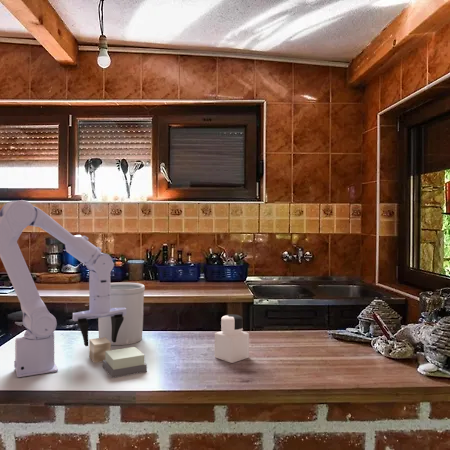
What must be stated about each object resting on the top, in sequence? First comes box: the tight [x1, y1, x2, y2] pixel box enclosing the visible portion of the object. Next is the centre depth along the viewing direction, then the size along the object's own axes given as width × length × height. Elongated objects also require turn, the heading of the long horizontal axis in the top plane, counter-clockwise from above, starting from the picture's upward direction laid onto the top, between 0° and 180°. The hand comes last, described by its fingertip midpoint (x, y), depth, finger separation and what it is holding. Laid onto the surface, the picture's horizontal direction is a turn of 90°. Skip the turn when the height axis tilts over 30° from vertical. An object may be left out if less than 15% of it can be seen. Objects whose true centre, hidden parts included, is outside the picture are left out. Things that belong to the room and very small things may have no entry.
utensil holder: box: [97, 281, 146, 346], centre depth 143 cm, size 15×15×18 cm
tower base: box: [102, 360, 148, 379], centre depth 116 cm, size 9×9×2 cm
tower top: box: [105, 346, 145, 370], centre depth 116 cm, size 8×8×2 cm
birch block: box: [88, 337, 112, 364], centre depth 125 cm, size 4×6×5 cm
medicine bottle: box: [214, 313, 250, 364], centre depth 126 cm, size 7×7×12 cm
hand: (100, 343), depth 125 cm, fingers open, 7 cm apart
